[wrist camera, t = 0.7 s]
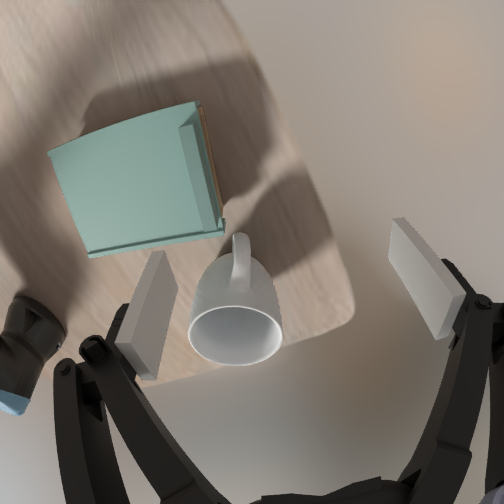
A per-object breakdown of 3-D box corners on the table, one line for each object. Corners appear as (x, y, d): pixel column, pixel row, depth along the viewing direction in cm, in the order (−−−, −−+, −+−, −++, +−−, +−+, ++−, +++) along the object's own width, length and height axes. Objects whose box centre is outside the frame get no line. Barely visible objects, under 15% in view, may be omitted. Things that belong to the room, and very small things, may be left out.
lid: (98, 245, 36) (82, 268, 32) (60, 144, 28) (36, 157, 24) (225, 222, 35) (223, 245, 31) (199, 99, 27) (190, 103, 23)
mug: (199, 210, 37) (182, 270, 26) (283, 216, 38) (300, 278, 27) (199, 296, 45) (189, 363, 35) (268, 300, 46) (275, 368, 35)
